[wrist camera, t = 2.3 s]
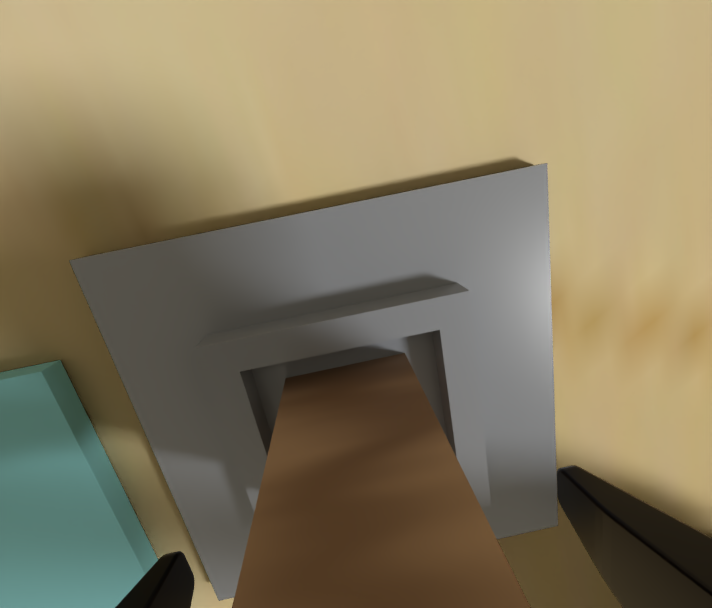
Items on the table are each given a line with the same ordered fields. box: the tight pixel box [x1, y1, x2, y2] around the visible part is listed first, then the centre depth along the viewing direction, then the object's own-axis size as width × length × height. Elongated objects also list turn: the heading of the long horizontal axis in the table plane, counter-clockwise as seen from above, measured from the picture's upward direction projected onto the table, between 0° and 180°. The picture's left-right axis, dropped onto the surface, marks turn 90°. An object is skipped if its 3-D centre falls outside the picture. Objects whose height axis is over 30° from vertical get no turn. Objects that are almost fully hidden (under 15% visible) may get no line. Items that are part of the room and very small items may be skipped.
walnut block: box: [232, 353, 530, 608], centre depth 8 cm, size 4×4×8 cm
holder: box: [69, 163, 558, 601], centre depth 12 cm, size 14×14×2 cm
